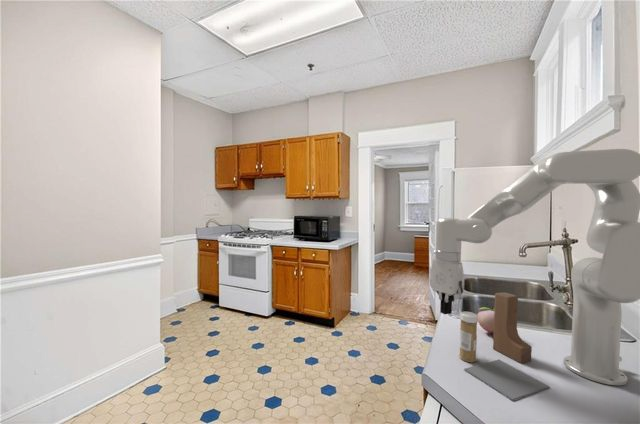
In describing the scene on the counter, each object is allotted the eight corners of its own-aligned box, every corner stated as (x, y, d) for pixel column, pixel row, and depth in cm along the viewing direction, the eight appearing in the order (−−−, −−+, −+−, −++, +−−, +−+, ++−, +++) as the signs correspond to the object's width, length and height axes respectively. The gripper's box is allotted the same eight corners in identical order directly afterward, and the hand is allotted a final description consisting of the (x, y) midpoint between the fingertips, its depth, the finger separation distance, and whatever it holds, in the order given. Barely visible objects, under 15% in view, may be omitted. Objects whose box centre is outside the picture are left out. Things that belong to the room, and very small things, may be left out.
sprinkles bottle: (479, 362, 81) (481, 316, 81) (466, 363, 80) (468, 317, 80) (468, 354, 85) (469, 310, 85) (455, 355, 84) (456, 311, 84)
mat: (498, 360, 82) (498, 359, 82) (549, 387, 70) (549, 386, 70) (464, 370, 77) (464, 368, 77) (512, 401, 65) (512, 399, 65)
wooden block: (531, 361, 82) (534, 300, 82) (521, 364, 80) (523, 302, 80) (502, 346, 90) (504, 291, 90) (492, 349, 89) (494, 292, 89)
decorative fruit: (481, 337, 97) (482, 309, 97) (474, 327, 105) (475, 301, 105) (512, 341, 95) (513, 312, 94) (502, 331, 103) (503, 304, 102)
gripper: (422, 253, 95) (420, 306, 96) (458, 261, 82) (456, 323, 82) (438, 252, 98) (437, 304, 99) (477, 260, 84) (474, 320, 85)
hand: (445, 312), depth 90 cm, fingers closed
